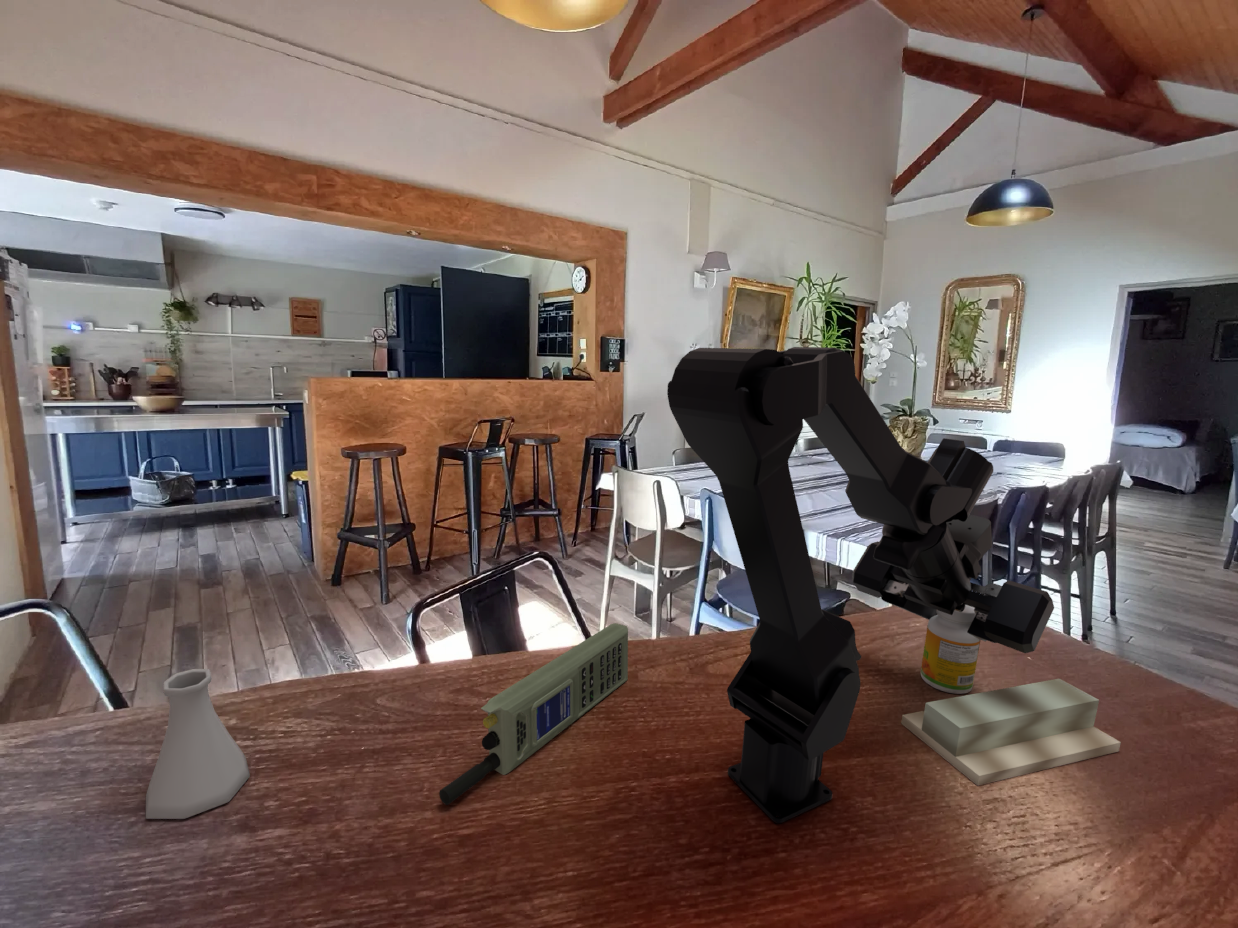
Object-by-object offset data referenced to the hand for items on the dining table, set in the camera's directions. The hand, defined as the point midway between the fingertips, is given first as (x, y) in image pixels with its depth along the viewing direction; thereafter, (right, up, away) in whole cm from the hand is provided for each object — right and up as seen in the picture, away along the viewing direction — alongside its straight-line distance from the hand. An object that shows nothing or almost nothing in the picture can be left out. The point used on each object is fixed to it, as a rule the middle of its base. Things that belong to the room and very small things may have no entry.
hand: (959, 627), depth 67 cm
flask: (-75, -8, -19) cm, 78 cm away
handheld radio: (-47, -8, -11) cm, 49 cm away
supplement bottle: (-1, -7, +1) cm, 7 cm away
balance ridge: (-1, -8, -9) cm, 12 cm away
